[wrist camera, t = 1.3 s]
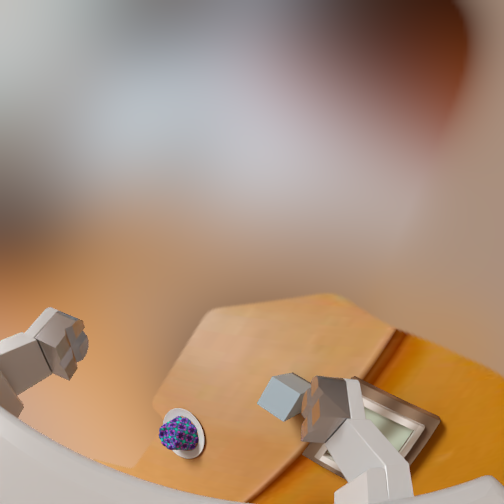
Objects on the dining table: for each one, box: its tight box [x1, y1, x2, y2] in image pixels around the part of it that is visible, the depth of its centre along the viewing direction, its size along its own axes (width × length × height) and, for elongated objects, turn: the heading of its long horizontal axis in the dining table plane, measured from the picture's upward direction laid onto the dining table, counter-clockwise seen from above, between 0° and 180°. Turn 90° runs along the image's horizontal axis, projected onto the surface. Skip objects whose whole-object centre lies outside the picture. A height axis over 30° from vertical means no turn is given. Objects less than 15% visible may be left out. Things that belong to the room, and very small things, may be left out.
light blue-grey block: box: [257, 373, 311, 422], centre depth 41 cm, size 5×5×8 cm
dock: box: [302, 376, 440, 479], centre depth 34 cm, size 16×15×4 cm
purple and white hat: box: [159, 408, 204, 459], centre depth 51 cm, size 12×12×5 cm
